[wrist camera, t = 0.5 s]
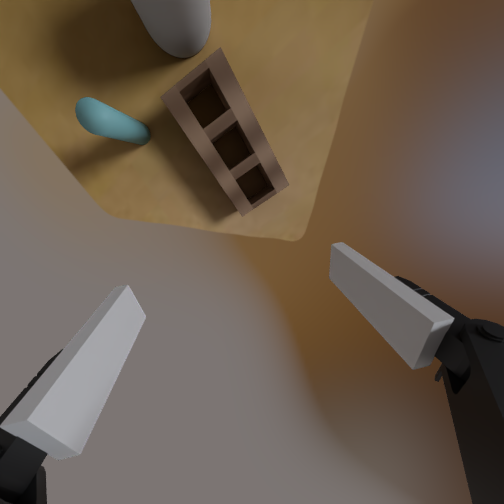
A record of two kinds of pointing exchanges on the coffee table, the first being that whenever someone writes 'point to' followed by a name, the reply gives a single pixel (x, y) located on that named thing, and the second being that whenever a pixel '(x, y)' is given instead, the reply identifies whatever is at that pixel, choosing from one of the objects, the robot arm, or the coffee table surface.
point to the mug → (176, 24)
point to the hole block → (226, 130)
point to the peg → (110, 122)
